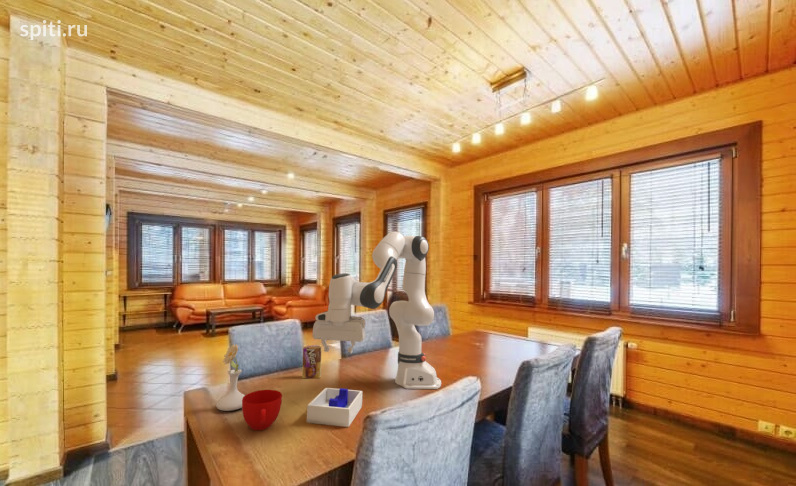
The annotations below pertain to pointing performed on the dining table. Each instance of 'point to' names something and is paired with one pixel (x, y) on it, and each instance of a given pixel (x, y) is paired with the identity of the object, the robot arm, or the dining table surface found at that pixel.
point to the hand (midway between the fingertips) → (338, 352)
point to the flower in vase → (233, 396)
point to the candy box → (311, 361)
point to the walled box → (334, 408)
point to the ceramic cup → (261, 408)
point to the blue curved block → (340, 399)
